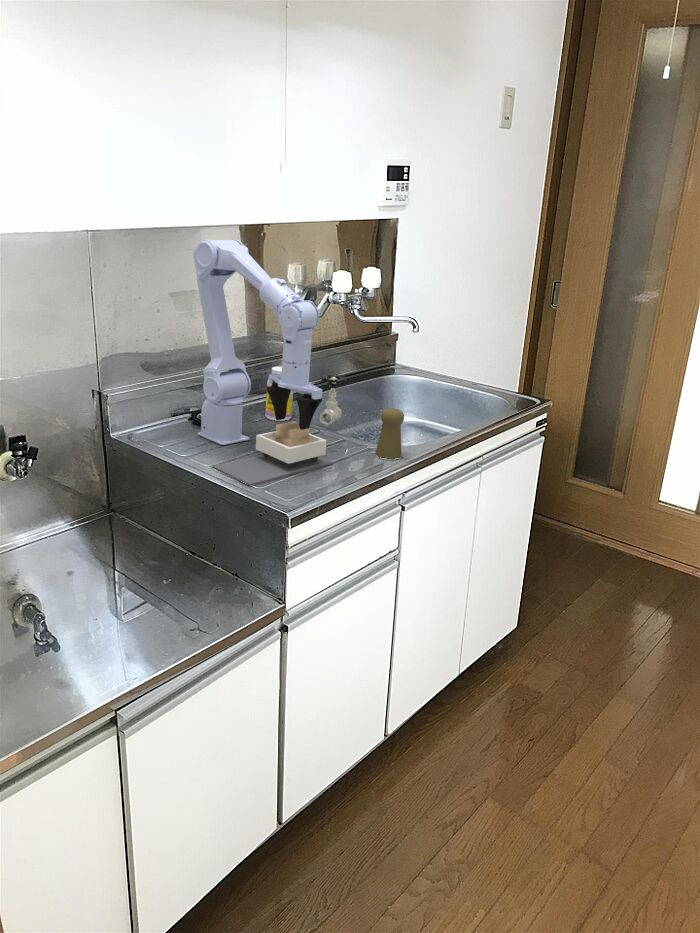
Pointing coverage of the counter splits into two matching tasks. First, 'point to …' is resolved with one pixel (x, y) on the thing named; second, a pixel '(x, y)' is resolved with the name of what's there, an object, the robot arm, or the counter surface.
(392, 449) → the cork
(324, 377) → the valve
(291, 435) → the wooden block
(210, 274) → the robot arm
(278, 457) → the white square tray
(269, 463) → the flat gray panel
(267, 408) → the supplement bottle
